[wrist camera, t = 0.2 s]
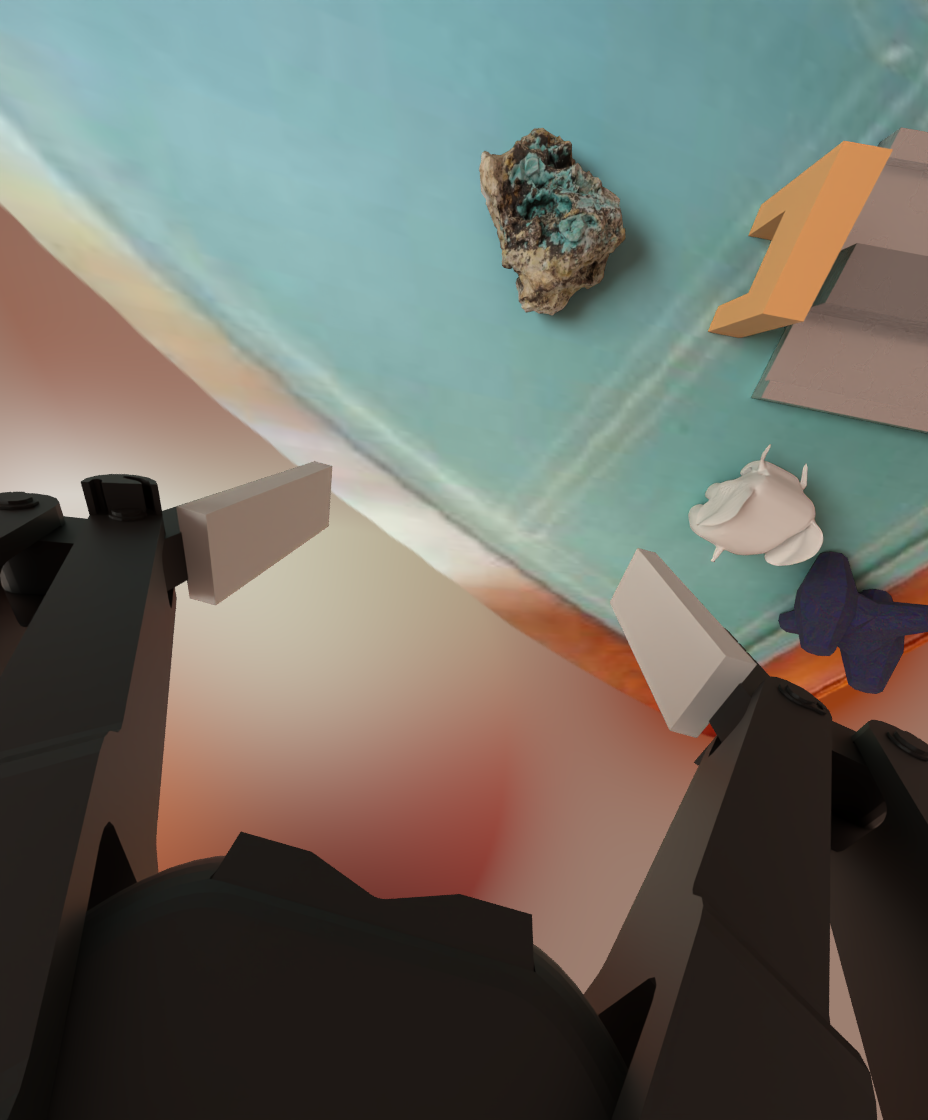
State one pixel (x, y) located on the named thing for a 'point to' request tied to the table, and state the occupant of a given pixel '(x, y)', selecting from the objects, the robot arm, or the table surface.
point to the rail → (868, 309)
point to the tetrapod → (852, 622)
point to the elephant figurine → (760, 515)
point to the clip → (803, 239)
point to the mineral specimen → (549, 219)
